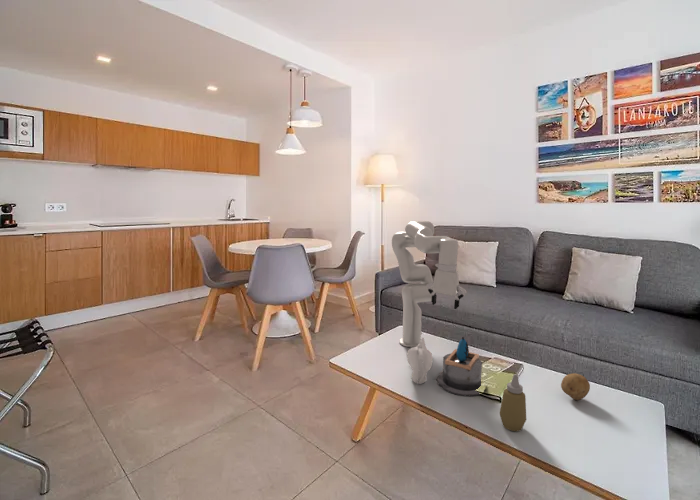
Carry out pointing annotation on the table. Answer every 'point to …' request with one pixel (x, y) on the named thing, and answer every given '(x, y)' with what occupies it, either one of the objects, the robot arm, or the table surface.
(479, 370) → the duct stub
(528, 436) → the table surface
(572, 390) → the natural sponge
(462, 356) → the ornament
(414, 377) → the shell sculpture
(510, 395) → the squeeze bottle
